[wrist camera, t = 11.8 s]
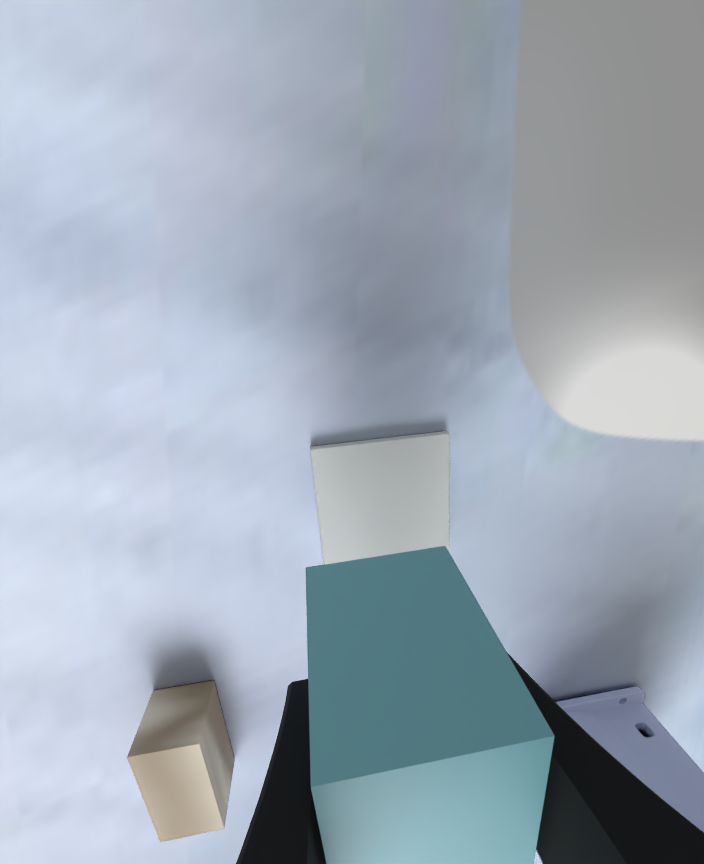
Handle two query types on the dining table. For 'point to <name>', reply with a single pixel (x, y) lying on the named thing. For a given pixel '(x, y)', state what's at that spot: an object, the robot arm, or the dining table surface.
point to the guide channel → (183, 761)
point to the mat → (382, 495)
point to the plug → (418, 719)
